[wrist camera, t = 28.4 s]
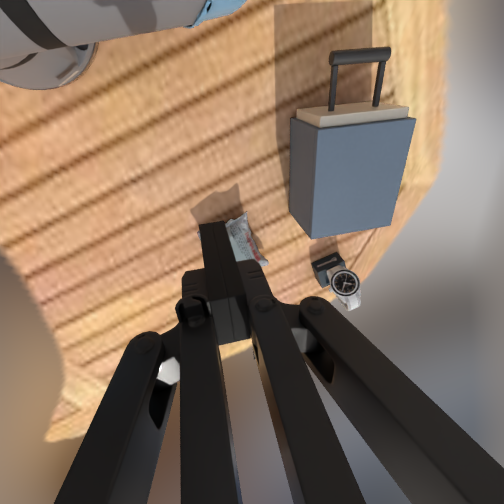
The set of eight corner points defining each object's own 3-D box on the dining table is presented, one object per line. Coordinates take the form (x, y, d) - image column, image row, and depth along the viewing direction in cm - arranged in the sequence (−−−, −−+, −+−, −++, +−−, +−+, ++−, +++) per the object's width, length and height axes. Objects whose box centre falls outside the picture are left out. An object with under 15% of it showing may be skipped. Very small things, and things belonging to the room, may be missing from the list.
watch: (334, 244, 54) (366, 279, 45) (341, 273, 58) (371, 310, 49) (308, 256, 54) (334, 293, 45) (317, 284, 58) (342, 323, 49)
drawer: (297, 54, 34) (324, 50, 28) (380, 48, 36) (424, 43, 30) (294, 200, 45) (313, 222, 39) (358, 190, 47) (386, 209, 41)
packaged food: (244, 204, 45) (250, 218, 41) (266, 258, 52) (273, 274, 48) (195, 225, 45) (196, 241, 41) (223, 276, 52) (226, 293, 48)
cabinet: (290, 118, 39) (317, 130, 31) (371, 109, 41) (416, 118, 33) (289, 211, 47) (310, 239, 40) (356, 200, 49) (390, 225, 41)
